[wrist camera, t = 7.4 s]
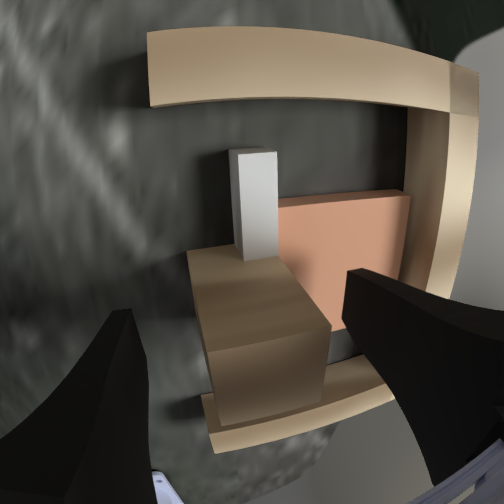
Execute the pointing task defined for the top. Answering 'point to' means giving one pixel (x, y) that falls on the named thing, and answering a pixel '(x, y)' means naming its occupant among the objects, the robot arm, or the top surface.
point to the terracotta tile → (341, 241)
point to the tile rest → (353, 90)
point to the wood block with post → (256, 306)
